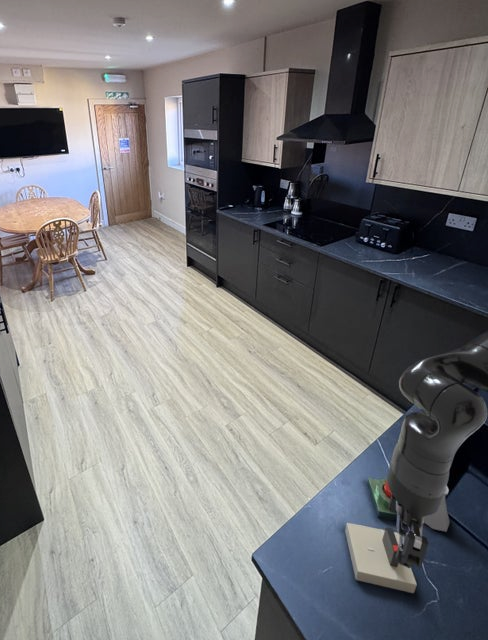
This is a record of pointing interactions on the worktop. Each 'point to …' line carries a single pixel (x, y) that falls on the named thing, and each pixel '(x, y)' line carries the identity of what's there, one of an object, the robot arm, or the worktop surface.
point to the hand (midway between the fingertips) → (398, 535)
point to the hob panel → (376, 559)
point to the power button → (387, 490)
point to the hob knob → (390, 546)
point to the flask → (439, 516)
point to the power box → (380, 499)
